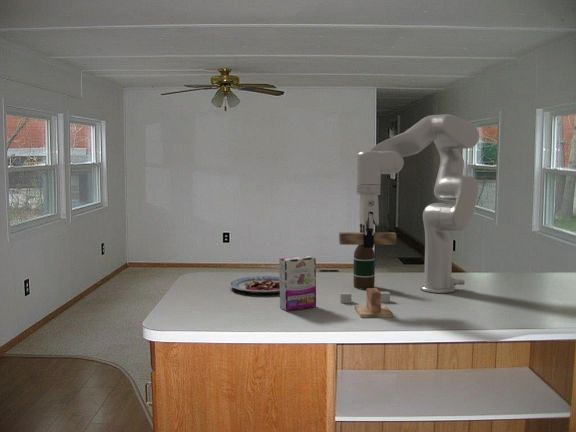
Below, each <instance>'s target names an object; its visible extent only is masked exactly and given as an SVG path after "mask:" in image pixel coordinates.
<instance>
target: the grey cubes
mask: <svg viewBox="0 0 576 432" xmlns="http://www.w3.org/2000/svg"><path fill="white" fill-rule="evenodd" d="M379 292H380V293H381V303H390V302H391V292H389V291H379ZM339 303H340V304H352V293H351V292H350V291H349V292H345V291H344V292H339Z"/></svg>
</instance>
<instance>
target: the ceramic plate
mask: <svg viewBox="0 0 576 432" xmlns="http://www.w3.org/2000/svg"><path fill="white" fill-rule="evenodd" d="M229 287H231V288H233V289H234V290H235V289H236V290H239V291H243V292H245V291H246V292H245V293H249V292H250V293H249V294H258V293H269V294H275V293H280V278H279V276H276V275H275V276H272V275H271V276H270V275H259V276H258V275H257V276H248V277H241V278H237V279H234V280H232V281H231V282H229Z"/></svg>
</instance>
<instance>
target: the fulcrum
mask: <svg viewBox="0 0 576 432" xmlns="http://www.w3.org/2000/svg"><path fill="white" fill-rule="evenodd" d="M380 292H381V291H379V290H378V288H377V287H373V288H367V289H366V305H354V310H355V312H356V313H357V314H358V316H359V318H394V312H393V311H391V309H390V308H389V307H388V306H387V305H382V302H381V293H380Z"/></svg>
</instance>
